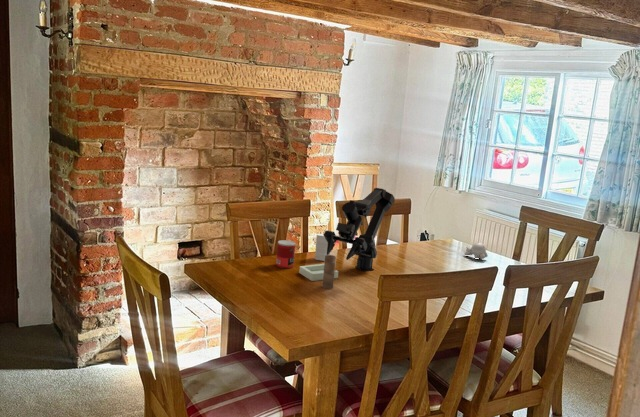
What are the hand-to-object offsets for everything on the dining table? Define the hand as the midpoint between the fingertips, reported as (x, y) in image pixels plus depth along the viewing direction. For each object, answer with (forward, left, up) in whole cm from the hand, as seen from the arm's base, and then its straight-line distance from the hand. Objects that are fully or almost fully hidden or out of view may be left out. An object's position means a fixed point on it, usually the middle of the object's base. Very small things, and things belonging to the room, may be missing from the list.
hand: (337, 256), depth 240 cm
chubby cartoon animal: (-94, -11, -12) cm, 95 cm away
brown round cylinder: (+5, +3, -12) cm, 13 cm away
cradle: (+1, -11, -12) cm, 16 cm away
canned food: (+9, -27, -12) cm, 31 cm away
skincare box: (-13, -31, -12) cm, 36 cm away
